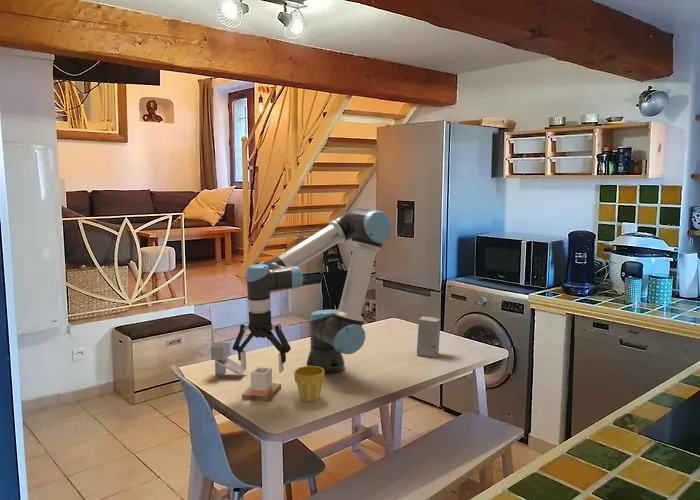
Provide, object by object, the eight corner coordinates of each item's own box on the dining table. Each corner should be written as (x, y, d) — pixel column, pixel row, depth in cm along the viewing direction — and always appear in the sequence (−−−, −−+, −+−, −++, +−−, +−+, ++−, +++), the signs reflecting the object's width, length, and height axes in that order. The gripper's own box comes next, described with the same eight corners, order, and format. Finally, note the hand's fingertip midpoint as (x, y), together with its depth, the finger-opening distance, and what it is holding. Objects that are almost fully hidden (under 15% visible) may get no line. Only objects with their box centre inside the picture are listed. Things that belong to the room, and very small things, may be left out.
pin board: (281, 387, 200) (280, 370, 200) (269, 401, 189) (269, 382, 188) (254, 385, 202) (254, 368, 202) (242, 398, 191) (241, 380, 190)
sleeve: (266, 396, 189) (266, 373, 188) (251, 395, 190) (250, 372, 189) (272, 390, 195) (271, 368, 193) (257, 388, 196) (256, 367, 195)
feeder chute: (246, 374, 214) (246, 343, 212) (240, 379, 208) (239, 348, 207) (218, 371, 216) (217, 342, 215) (211, 377, 211) (210, 346, 209)
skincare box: (416, 355, 235) (417, 319, 233) (420, 350, 241) (421, 315, 239) (436, 358, 232) (437, 321, 230) (440, 353, 238) (440, 317, 236)
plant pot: (294, 392, 196) (294, 365, 195) (324, 391, 197) (324, 364, 196) (294, 404, 186) (294, 376, 185) (325, 403, 187) (325, 375, 186)
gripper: (298, 308, 189) (300, 368, 193) (229, 306, 194) (233, 364, 198) (291, 314, 182) (294, 376, 185) (220, 312, 187) (224, 372, 190)
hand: (262, 370), depth 191 cm, fingers open, 13 cm apart
